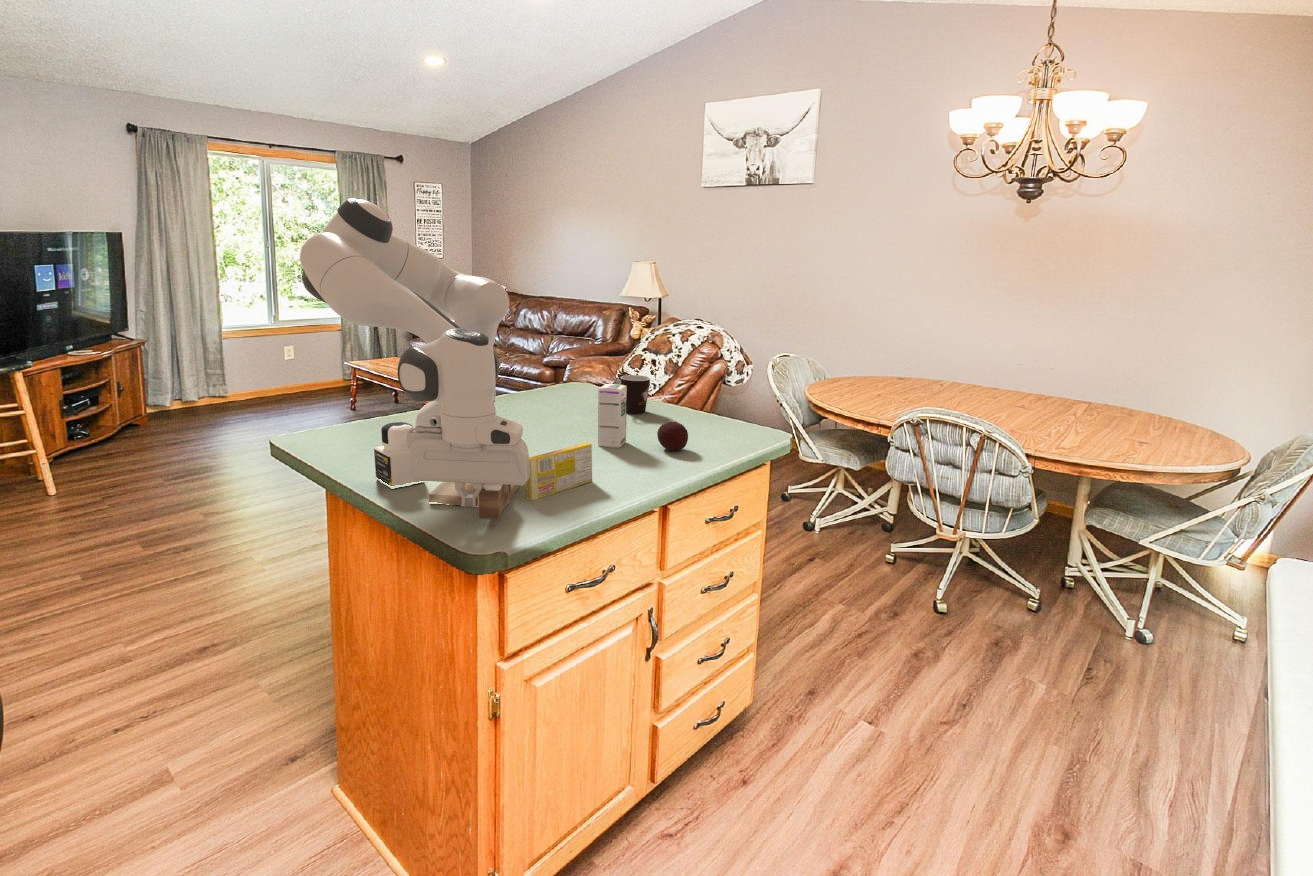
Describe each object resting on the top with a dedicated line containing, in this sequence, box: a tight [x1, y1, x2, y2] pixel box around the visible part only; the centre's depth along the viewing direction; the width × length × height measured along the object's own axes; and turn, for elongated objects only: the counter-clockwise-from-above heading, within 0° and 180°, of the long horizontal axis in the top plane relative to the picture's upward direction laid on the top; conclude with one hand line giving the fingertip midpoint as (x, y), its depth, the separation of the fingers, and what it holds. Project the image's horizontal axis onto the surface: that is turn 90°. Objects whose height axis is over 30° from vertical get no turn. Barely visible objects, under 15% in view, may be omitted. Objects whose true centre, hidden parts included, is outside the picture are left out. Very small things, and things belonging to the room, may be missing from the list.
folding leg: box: [478, 484, 511, 520], centre depth 131 cm, size 14×4×4 cm, turn 2°
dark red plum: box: [656, 421, 689, 452], centre depth 176 cm, size 7×8×7 cm
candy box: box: [525, 442, 593, 501], centre depth 145 cm, size 16×2×8 cm, turn 139°
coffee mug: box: [620, 374, 651, 415], centre depth 211 cm, size 12×9×10 cm
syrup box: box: [597, 383, 627, 449], centre depth 177 cm, size 6×6×14 cm
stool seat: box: [428, 482, 521, 510], centre depth 141 cm, size 14×12×2 cm
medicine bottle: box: [373, 421, 419, 486], centre depth 145 cm, size 7×7×12 cm
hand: (470, 505), depth 126 cm, fingers closed
